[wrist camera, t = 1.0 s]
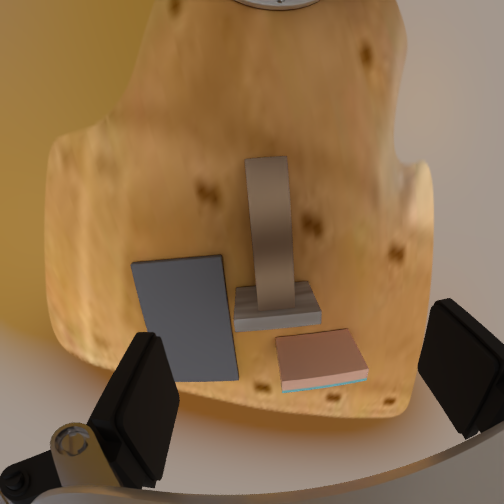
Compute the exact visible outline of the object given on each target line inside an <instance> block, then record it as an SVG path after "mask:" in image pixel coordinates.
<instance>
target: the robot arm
mask: <svg viewBox="0 0 504 504" xmlns="http://www.w3.org/2000/svg"><path fill="white" fill-rule="evenodd" d="M235 1H238V2H240V3H243V4H245V5H249V6H253V7H256V8H262V9H270V10H288V9H297V8H301V7H305V6H308V5H311V4H313V3H316V2H318V1H319V0H235ZM278 2H281V3H278ZM418 372H419V374H420V375H421V377H422V378H423V380H424V381H425V383H426V384H427V386H428V387H429V388H430V390H431V391H432V393H433V394H434V396H435V397H436V399H437V400H438V402H439V404H440V405H441V406H442V408H443V409H444V411H445V413H446V414H447V416H448V418H449V419H450V421H451V422H452V424H453V425H454V427H455V429H456V430H457V432H458V433H462V435H463V436H464V438H465V440H466V439H468V438H470V437H472V436H474V435H476V434H477V433H478V431H480V432H481V434H479V435H477V436H475V437H473V438H471V439H469V440H467V441H465V442H463V443H461V444H458V445H456V446H454V447H452V448H450V449H447V450H445V451H443V452H440V453H438V454H435V455H433V456H430V457H428V458H425V459H423V460H420V461H418V462H415V463H412V464H409V465H406V466H403V467H400V468H397V469H394V470H391V471H387V472H384V473H380V474H377V475H373V476H370V477H366V478H362V479H358V480H354V481H349V482H344V483H340V484H335V485H329V486H324V487H318V488H312V489H305V490H297V491H289V492H280V493H268V494H250V495H202V494H183V493H170V492H160V491H152V490H142V486H143V487H150V488H155V485H156V481H157V480H159V481H160V480H161V478H162V475H163V471H164V466H165V462H166V457H167V453H168V449H169V444H170V440H171V436H172V432H173V428H174V423H175V419H176V415H177V411H178V407H179V401H180V400H179V393H178V390H177V387H176V384H175V381H174V378H173V375H172V372H171V369H170V365H169V362H168V359H167V356H166V352H165V349H164V345H163V342H162V339H161V337H160V336H156V334H155V333H154V332H138V333H137V334H136V335H135V337H134V338H133V340H132V342H131V344H130V345H129V347H128V349H127V351H126V352H125V354H124V356H123V358H122V359H121V361H120V363H119V365H118V367H117V369H116V370H115V372H114V373H113V375H112V377H111V378H110V380H109V382H108V384H107V386H106V388H105V390H104V391H103V393H102V395H101V397H100V399H99V401H98V403H97V405H96V407H95V408H94V410H93V412H92V414H91V416H90V418H89V420H88V422H87V424H82V423H69V424H65V425H63V426H62V427H60V428H59V429H57V430H56V431H55V433H54V434H53V436H52V437H51V441H50V449H51V450H49V451H46V452H44V453H41V454H39V455H36V456H34V457H31V458H29V459H26V460H23V461H21V462H18V463H15V464H12V465H11V466H8V467H7V468H6V469H5V470H4V471H3V472H2V474H1V476H0V504H504V344H503V343H501V341H499V340H498V339H497V338H496V337H495V336H494V335H493V334H492V333H491V332H489V331H488V330H487V329H486V328H485V327H484V326H483V325H482V324H481V323H479V322H478V321H477V320H476V319H475V318H474V317H472V316H471V315H470V314H469V313H468V312H466V311H465V310H464V309H463V308H462V307H461V306H459V305H458V304H457V303H456V302H455V301H453V300H452V299H450V298H447V299H443V300H438V301H436V302H435V303H434V305H433V306H432V307H431V310H430V315H429V320H428V325H427V329H426V334H425V338H424V342H423V347H422V351H421V354H420V358H419V362H418Z"/></svg>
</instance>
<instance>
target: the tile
mask: <svg viewBox="0 0 504 504" xmlns="http://www.w3.org/2000/svg"><path fill="white" fill-rule="evenodd" d="M276 350H277V358H278V365H279V372H280V380H281V387H282V393H287V392H296V391H304V390H312V389H319V388H326V387H332V386H338V385H344V384H349V383H355V382H360V381H365V380H367V375H368V370H369V368H368V366H367V364H366V362H365V360H364V358H363V356H362V355H361V353H360V351H359V349H358V347H357V345H356V343H355V341H354V339H353V337H352V335H351V333H350V332H349V330H348V329H343V330H336V331H329V332H321V333H313V334H304V335H296V336H286V337H276Z"/></svg>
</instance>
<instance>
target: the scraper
mask: <svg viewBox="0 0 504 504" xmlns="http://www.w3.org/2000/svg"><path fill="white" fill-rule="evenodd" d="M245 169H246V180H247V190H248V201H249V212H250V223H251V234H252V245H253V256H254V267H255V278H256V286H251V287H239V288H236V296H235V308H234V326H235V332H244V331H257V330H268V329H279V328H289V327H298V326H307V325H316V324H321V309H320V307H319V305H318V302H317V300H316V298H315V296H314V294H313V291H312V289H311V287H310V285H309V283H308V281H305V282H295V283H294V263H293V242H292V223H291V206H290V191H289V176H288V163H287V156H276V157H262V158H250V159H245Z"/></svg>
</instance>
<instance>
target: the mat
mask: <svg viewBox="0 0 504 504" xmlns="http://www.w3.org/2000/svg"><path fill="white" fill-rule="evenodd" d="M131 269H132V273H133V278H134V282H135V286H136V290H137V294H138V298H139V302H140V305H141V309H142V313H143V316H144V320H145V324H146V327H147V330H148V332H154V333H155V334H156V336H160V337H161V339H162V342H163V345H164V349H165V352H166V356H167V359H168V362H169V365H170V369H171V372H172V375H173V378H174V381H175V382H208V381H235V380H239V375H238V368H237V362H236V355H235V349H234V342H233V335H232V329H231V322H230V315H229V308H228V300H227V293H226V286H225V278H224V271H223V263H222V255H213V256H201V257H190V258H178V259H167V260H156V261H144V262H133V263H132V264H131Z"/></svg>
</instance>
